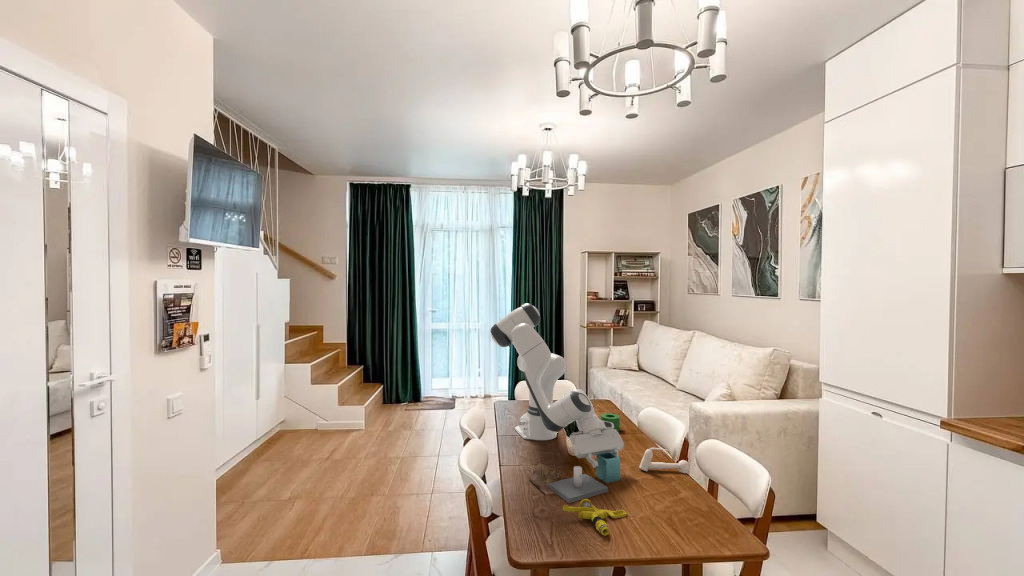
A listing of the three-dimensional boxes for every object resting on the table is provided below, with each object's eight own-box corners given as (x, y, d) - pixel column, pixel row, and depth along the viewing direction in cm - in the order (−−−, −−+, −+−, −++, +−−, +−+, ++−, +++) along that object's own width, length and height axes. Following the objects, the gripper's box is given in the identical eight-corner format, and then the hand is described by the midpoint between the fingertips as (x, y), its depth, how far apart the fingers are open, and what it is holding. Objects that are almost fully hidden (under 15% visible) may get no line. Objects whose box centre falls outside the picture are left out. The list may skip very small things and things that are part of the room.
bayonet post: (548, 487, 146) (548, 465, 146) (585, 478, 153) (585, 457, 153) (569, 503, 135) (569, 479, 135) (607, 491, 143) (607, 469, 143)
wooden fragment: (563, 496, 140) (563, 492, 140) (530, 496, 141) (530, 492, 141) (556, 464, 166) (556, 461, 166) (528, 464, 166) (528, 461, 166)
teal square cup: (596, 476, 155) (596, 454, 155) (609, 473, 157) (609, 451, 157) (606, 483, 149) (606, 460, 149) (620, 480, 152) (620, 457, 152)
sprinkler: (579, 524, 115) (559, 496, 129) (576, 539, 115) (558, 509, 129) (642, 525, 119) (617, 498, 134) (640, 539, 119) (615, 510, 134)
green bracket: (615, 425, 213) (615, 413, 213) (622, 431, 205) (622, 418, 205) (580, 427, 211) (580, 414, 211) (586, 433, 202) (586, 419, 202)
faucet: (686, 486, 157) (695, 461, 157) (640, 469, 158) (649, 444, 158) (682, 481, 161) (691, 457, 161) (638, 465, 162) (646, 440, 162)
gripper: (571, 429, 155) (586, 465, 146) (616, 422, 164) (633, 456, 155) (564, 437, 159) (579, 473, 150) (609, 430, 168) (625, 464, 159)
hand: (607, 465), depth 153 cm, fingers open, 8 cm apart
